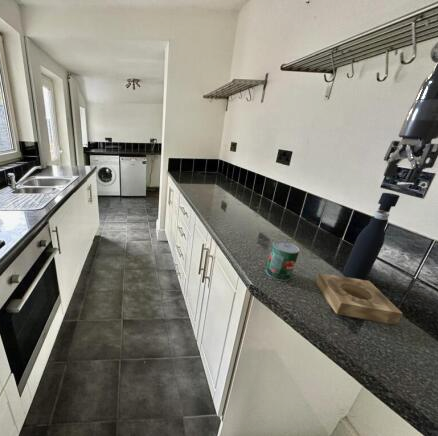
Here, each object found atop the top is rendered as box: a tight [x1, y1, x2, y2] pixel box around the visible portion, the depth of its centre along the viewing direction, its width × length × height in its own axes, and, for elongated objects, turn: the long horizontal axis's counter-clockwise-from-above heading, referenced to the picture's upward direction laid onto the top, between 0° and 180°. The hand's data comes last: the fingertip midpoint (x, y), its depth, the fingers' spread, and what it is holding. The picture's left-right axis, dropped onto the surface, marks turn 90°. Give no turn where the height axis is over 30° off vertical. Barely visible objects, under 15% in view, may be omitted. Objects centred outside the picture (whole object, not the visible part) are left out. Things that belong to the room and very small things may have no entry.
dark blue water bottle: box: [341, 192, 401, 280], centre depth 75 cm, size 6×6×30 cm
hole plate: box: [315, 273, 404, 326], centre depth 68 cm, size 14×14×4 cm
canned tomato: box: [265, 240, 301, 282], centre depth 79 cm, size 8×8×11 cm
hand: (398, 179), depth 68 cm, fingers open, 8 cm apart
